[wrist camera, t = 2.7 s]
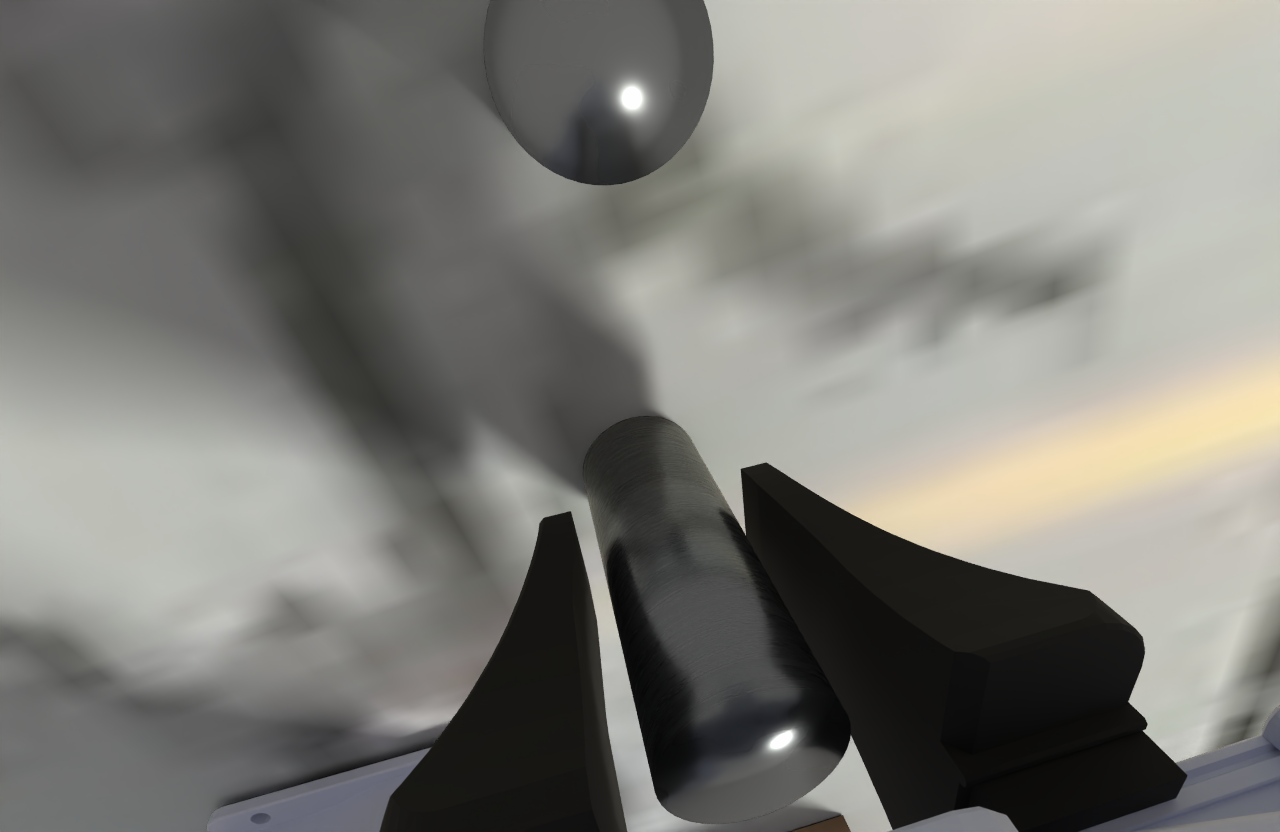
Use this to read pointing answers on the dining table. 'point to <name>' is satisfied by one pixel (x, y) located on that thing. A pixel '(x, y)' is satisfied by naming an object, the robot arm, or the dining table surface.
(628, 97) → the short pin
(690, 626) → the tall pin
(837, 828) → the hole plate
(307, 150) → the dining table surface
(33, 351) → the dining table surface
